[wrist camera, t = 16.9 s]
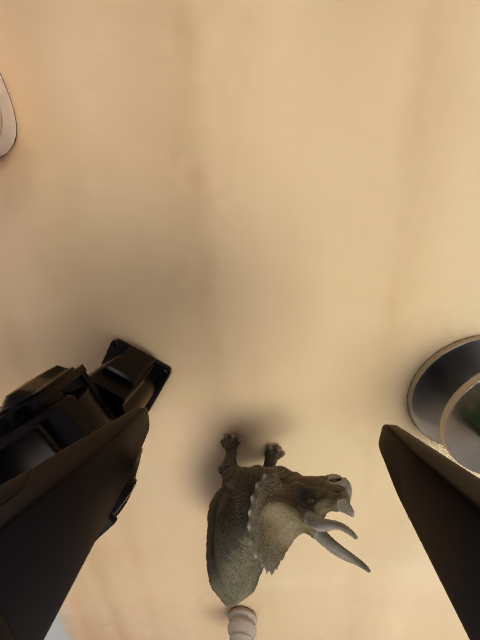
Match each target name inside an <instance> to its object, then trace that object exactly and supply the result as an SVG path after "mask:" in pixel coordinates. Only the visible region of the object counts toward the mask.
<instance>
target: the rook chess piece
mask: <svg viewBox="0 0 480 640" xmlns="http://www.w3.org/2000/svg"><path fill="white" fill-rule="evenodd" d="M228 620H229V624H228V633H229V635H230V640H253V639H254V637H255V636H256V632H257V630H256V626H255V625H256V623H257V618H256V616H255V613H254V612H253V611H252V610H250V609H248V608H245V607H236V608H234V609H232V610H231V612H230V614H229V615H228Z"/></svg>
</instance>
